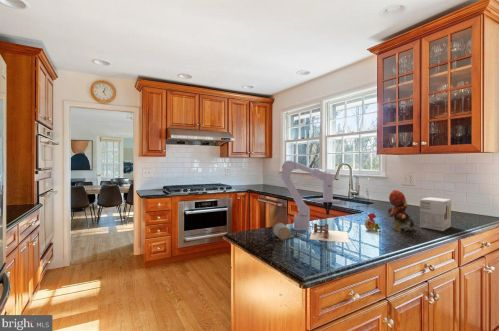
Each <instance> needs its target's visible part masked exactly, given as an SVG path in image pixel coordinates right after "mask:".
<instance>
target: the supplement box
mask: <svg viewBox="0 0 499 331" xmlns="http://www.w3.org/2000/svg"><path fill="white" fill-rule="evenodd" d="M451 218H452V198H441V197H429V196H428V197H424V198H420V199H419V227H420V228H423V229H429V230H434V231H441V232H444V231H446V230H447V229H449V228H451V226H452V225H451V224H452V223H451V222H452V219H451Z"/></svg>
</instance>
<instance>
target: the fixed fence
mask: <svg viewBox="0 0 499 331" xmlns="http://www.w3.org/2000/svg"><path fill="white" fill-rule="evenodd" d="M326 226H327V230H329V223H328V224H327V223H326V224H324V225H323V224H318V223H313V229H314V232H317V231H320V232H322V231H324V229H325V228H326ZM323 228H324V229H323Z"/></svg>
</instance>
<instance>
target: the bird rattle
mask: <svg viewBox="0 0 499 331" xmlns="http://www.w3.org/2000/svg"><path fill="white" fill-rule="evenodd" d="M367 217H368V218H366V220H365V221H364V227H365V228H366V230H368V231H373V230H374V231H376V232H377V231H378V230H381V227H380V224H379V223H378V222H377V223H376V220H375V218H377V215H375V213H374V212H373V213H369V214H367Z"/></svg>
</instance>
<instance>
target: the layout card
mask: <svg viewBox="0 0 499 331" xmlns="http://www.w3.org/2000/svg"><path fill="white" fill-rule="evenodd" d="M309 240H314V241H325V242H327V241H328V242H338V243H350V240H349V232H348V231H339V230H329V229H328V238H324V231H322V232H320V231H317V232H314V228H313V229H312V230H311V234H310V237H309Z"/></svg>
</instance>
